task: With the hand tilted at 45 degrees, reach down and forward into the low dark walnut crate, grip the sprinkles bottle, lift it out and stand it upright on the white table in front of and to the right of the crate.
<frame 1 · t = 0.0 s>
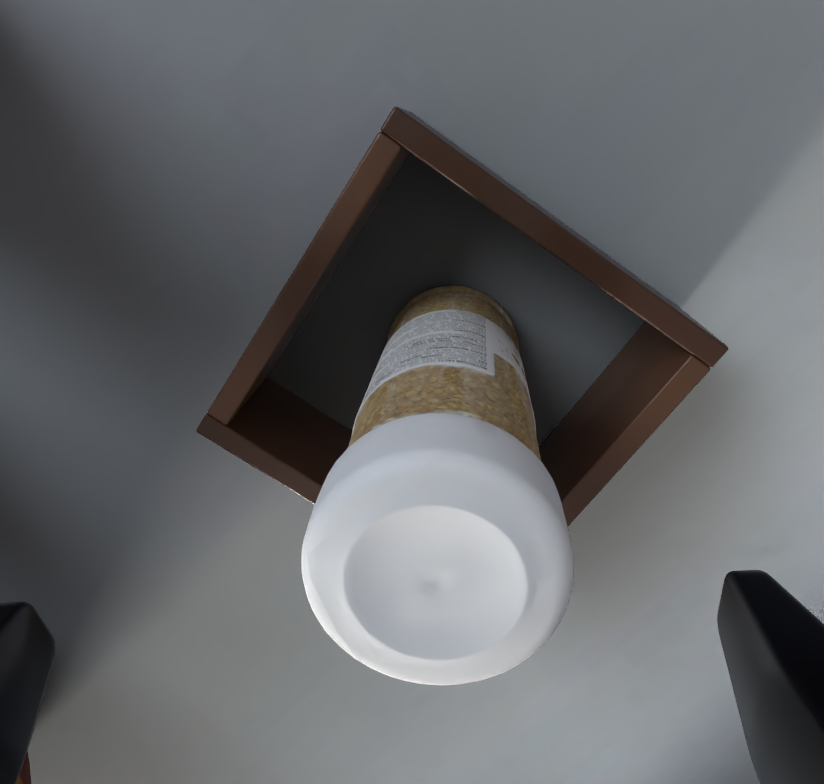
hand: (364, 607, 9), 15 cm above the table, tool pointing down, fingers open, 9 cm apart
sprinkles bottle: (452, 345, 24), resting in crate
crate: (451, 346, 24), on the table
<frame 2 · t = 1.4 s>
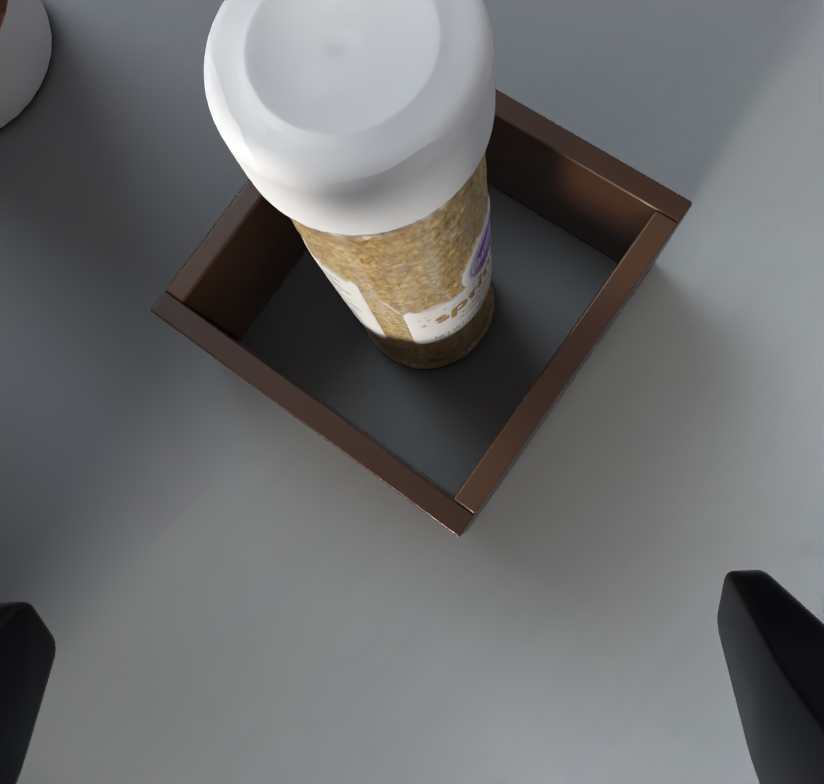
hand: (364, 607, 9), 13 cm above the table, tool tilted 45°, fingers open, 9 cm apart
sprinkles bottle: (427, 306, 24), resting in crate
crate: (427, 304, 23), on the table
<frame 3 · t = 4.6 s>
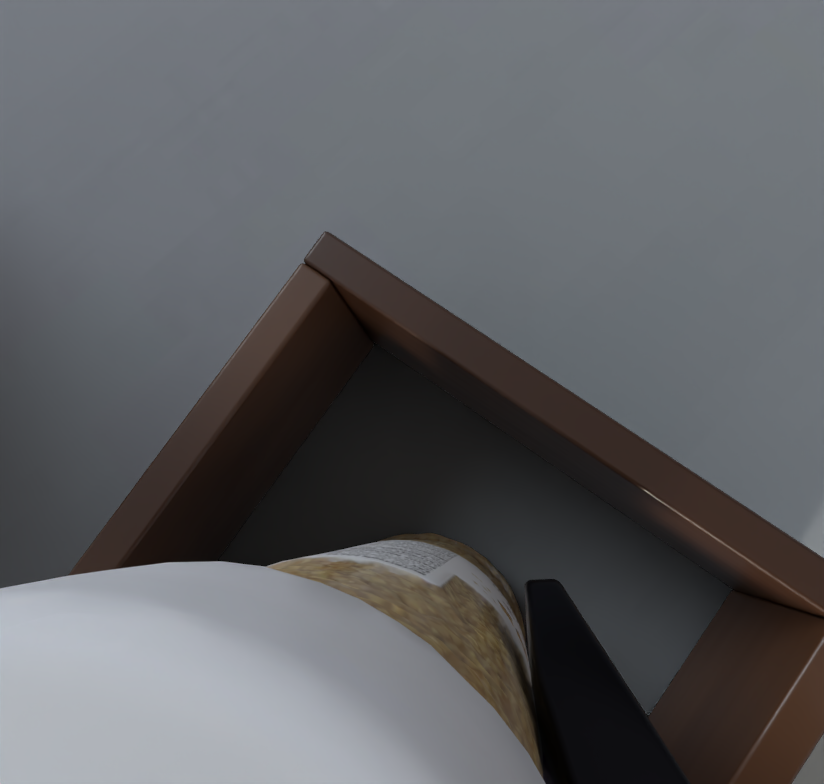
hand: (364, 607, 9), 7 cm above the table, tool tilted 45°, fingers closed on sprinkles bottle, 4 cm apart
sprinkles bottle: (421, 633, 15), resting in crate, touching gripper
crate: (420, 634, 15), on the table
when the fingers open (7 cm above the table, at t = 11.5 s): sprinkles bottle stays where it is, on the table.
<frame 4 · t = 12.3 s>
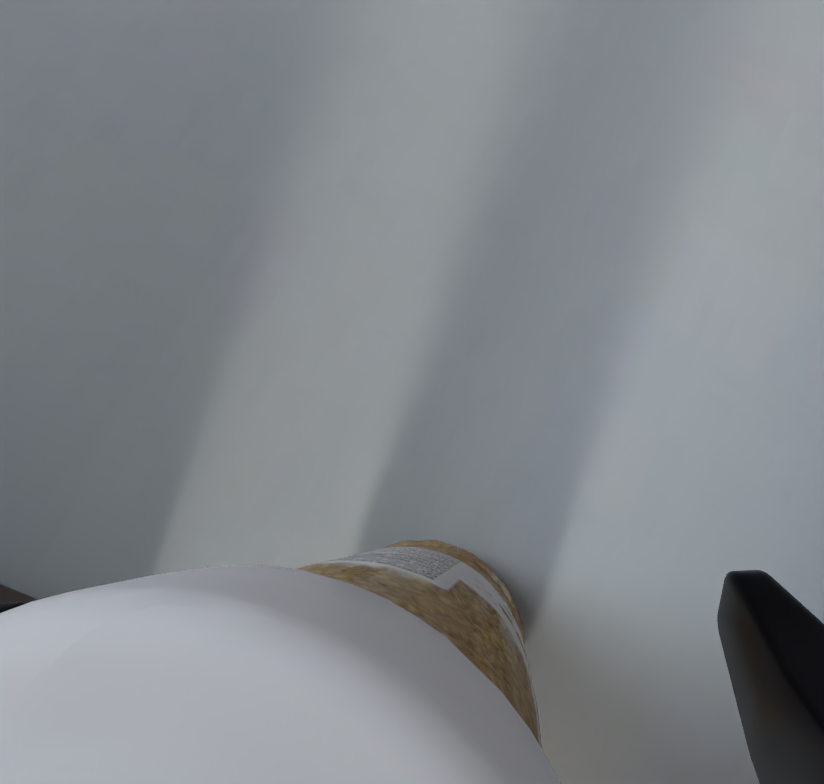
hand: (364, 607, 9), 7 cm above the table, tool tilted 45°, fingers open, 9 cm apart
sprinkles bottle: (424, 636, 16), on the table
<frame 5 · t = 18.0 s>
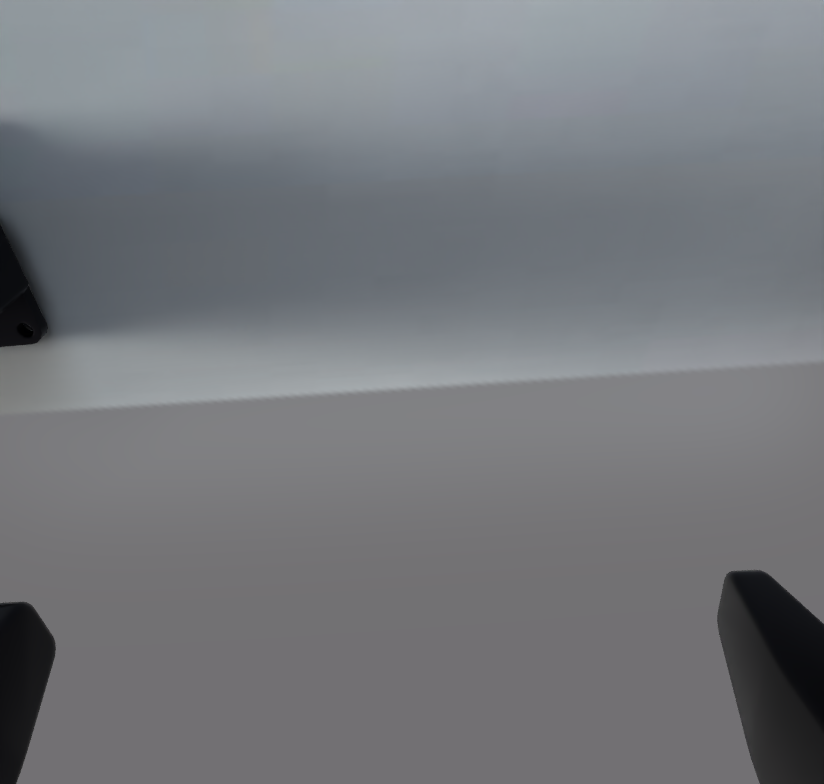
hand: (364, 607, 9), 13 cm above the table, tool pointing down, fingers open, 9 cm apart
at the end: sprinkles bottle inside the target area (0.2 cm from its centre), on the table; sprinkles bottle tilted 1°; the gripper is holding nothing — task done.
